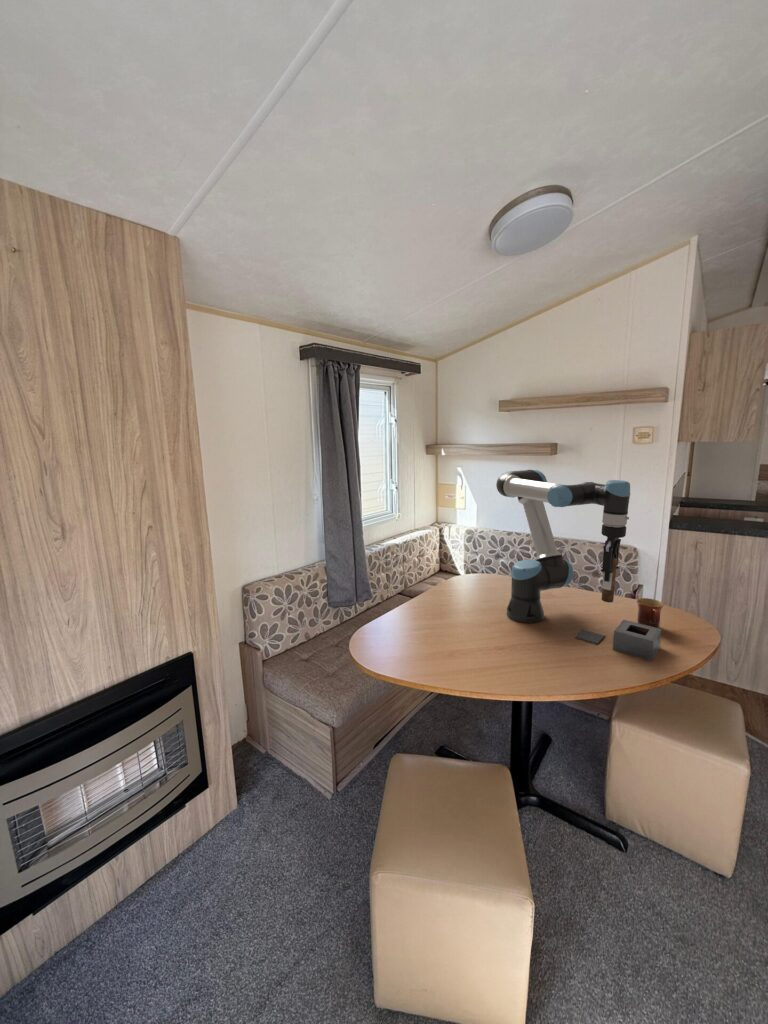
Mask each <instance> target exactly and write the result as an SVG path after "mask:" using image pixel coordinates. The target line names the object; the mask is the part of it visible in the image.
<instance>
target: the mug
mask: <svg viewBox="0 0 768 1024" xmlns="http://www.w3.org/2000/svg"><path fill="white" fill-rule="evenodd" d="M636 603H637V607H638V611H637V618H636V620H637V623H639V624H643V625H647V626H651V627H655V628H659V627H660V624H661V613H662V609H663V607H664V603H663V602H662V601H660V600H657V599H654V598H647V597H646V598H645V597H642V598H638V599H636ZM659 629H660V628H659Z"/></svg>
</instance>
